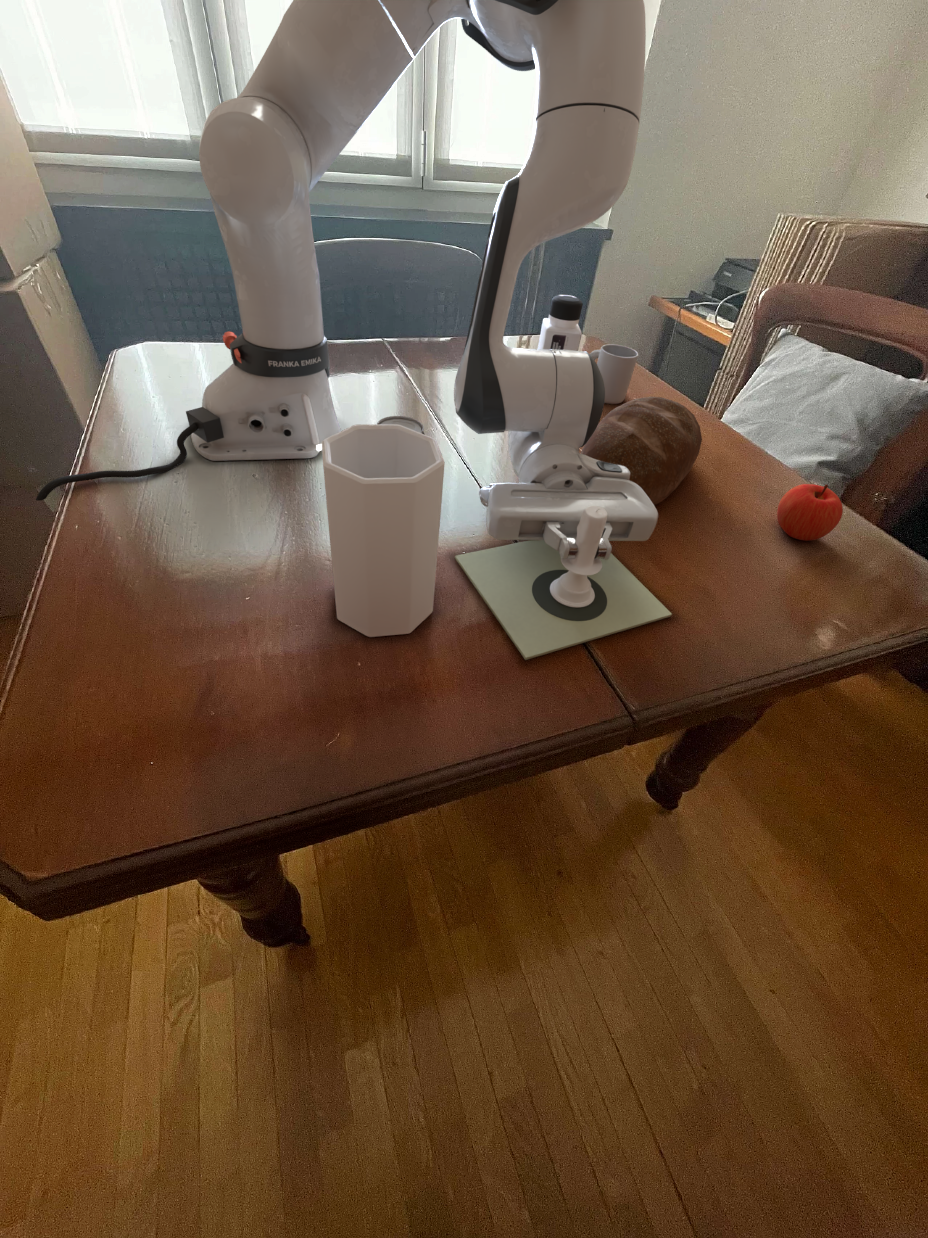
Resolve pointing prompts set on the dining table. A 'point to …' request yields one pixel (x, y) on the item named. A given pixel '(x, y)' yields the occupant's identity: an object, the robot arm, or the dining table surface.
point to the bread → (648, 443)
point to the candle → (581, 561)
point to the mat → (535, 618)
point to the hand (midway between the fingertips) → (587, 554)
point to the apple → (809, 511)
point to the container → (562, 324)
